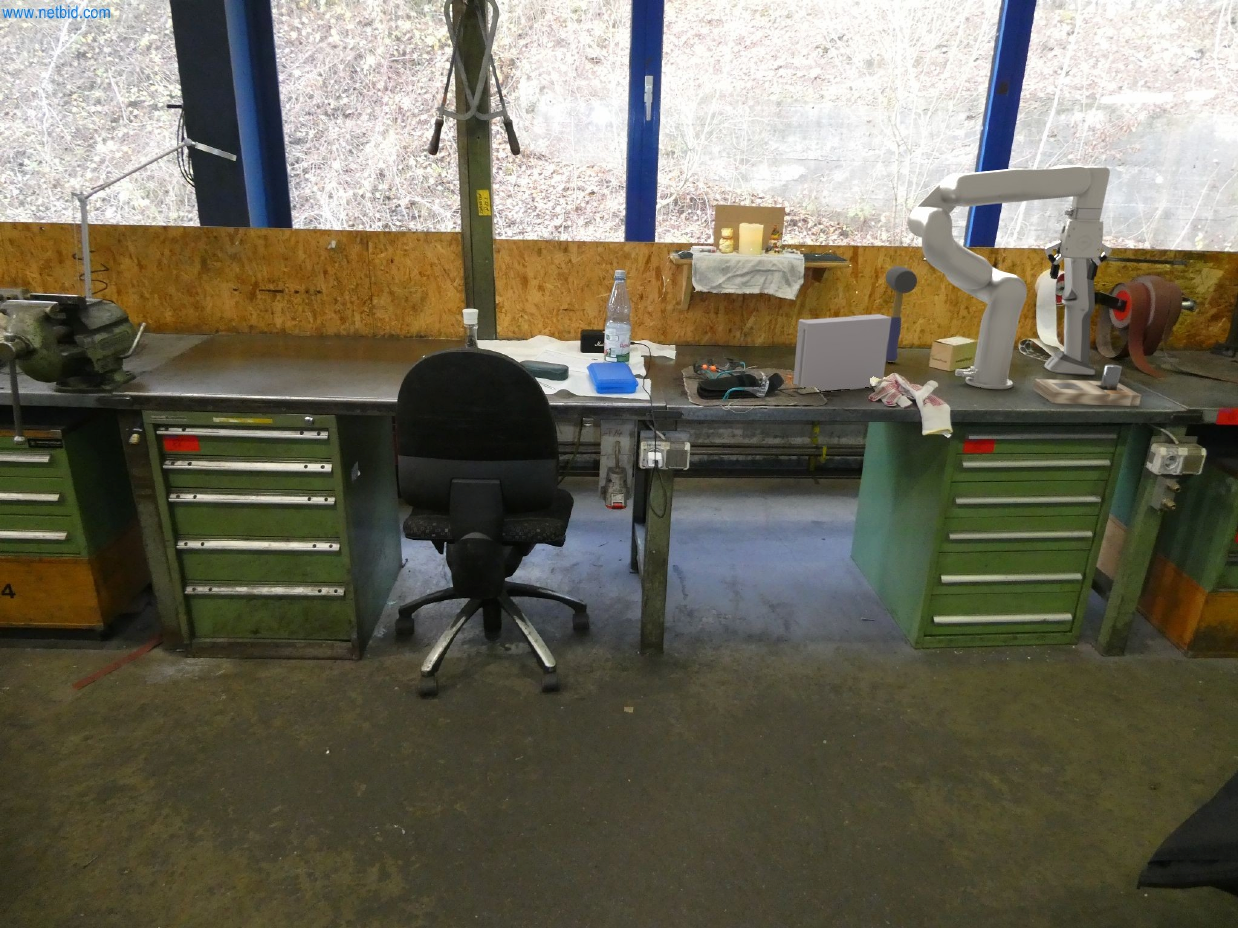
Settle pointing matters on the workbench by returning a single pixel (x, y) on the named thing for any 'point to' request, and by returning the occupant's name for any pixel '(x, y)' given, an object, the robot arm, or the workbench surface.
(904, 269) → the rubber mallet
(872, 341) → the game console
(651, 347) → the workbench surface
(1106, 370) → the peg
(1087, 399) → the fixture board
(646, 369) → the workbench surface
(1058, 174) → the robot arm
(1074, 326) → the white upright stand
